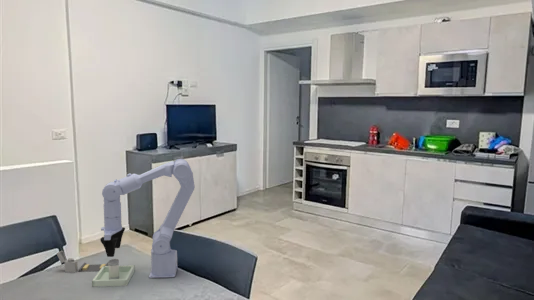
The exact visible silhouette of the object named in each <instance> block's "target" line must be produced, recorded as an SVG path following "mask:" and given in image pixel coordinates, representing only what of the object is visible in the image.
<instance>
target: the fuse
mask: <svg viewBox="0 0 534 300" xmlns="http://www.w3.org/2000/svg"><path fill="white" fill-rule="evenodd" d="M107 263H108V265H109V280H110V279H119V266H120V260H119V259H117V258H113V259H109V260H108V261H107Z"/></svg>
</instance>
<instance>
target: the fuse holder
mask: <svg viewBox="0 0 534 300" xmlns="http://www.w3.org/2000/svg"><path fill="white" fill-rule="evenodd" d="M103 266H109V265H108V262H107V263H101V264H90V263H88V264H87V262H84V263H83V264H82V265H81V266H80V267H79V268H78V271H77V272H78V273H86V272H87V273H89V272H92V273H93V272H95V273H96V272H97V273H98V272H99V271H100V269H101V268H102V267H103Z"/></svg>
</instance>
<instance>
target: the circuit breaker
mask: <svg viewBox="0 0 534 300" xmlns="http://www.w3.org/2000/svg"><path fill="white" fill-rule="evenodd" d="M56 255H57V257H58V259H59V262H60V263H61V264H63V263H64V272H65V273H71V274H76V273H77V272H78V270H79V268H78V260H75V259H74V258H67V256H66V255H65V253H64V251H63V250H60V251H58V252H57V253H56Z"/></svg>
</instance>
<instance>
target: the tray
mask: <svg viewBox="0 0 534 300" xmlns="http://www.w3.org/2000/svg"><path fill="white" fill-rule="evenodd" d="M135 271H136V265H119V279H110V280H109V266H103V267H102V268H101V269H100V271H97V273H96V275H95V276H94V277H93V279H92V280H91V287H92V288H97V287H99V288H100V287H101V288H103V287H105V288H106V287H127V286H128V284H129V283H130V280H131V279H132V278H133V275H134V273H135Z"/></svg>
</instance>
